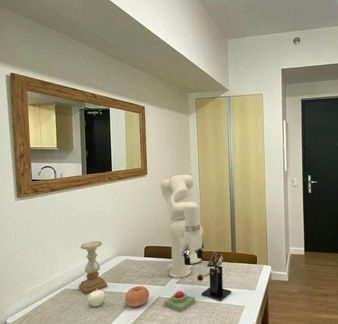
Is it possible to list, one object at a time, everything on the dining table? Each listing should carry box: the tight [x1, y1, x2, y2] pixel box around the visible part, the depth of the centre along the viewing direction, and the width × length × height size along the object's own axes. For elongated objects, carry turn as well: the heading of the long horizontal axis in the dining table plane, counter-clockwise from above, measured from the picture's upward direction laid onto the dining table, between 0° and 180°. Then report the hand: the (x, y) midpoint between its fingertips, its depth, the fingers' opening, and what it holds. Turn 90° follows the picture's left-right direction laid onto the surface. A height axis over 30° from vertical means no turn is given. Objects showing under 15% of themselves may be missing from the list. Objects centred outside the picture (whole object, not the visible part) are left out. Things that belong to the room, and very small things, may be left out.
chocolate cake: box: [207, 250, 224, 267], centre depth 180 cm, size 10×7×12 cm
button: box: [174, 290, 184, 298], centre depth 131 cm, size 4×4×2 cm
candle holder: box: [78, 240, 108, 295], centre depth 150 cm, size 11×11×24 cm
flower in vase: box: [189, 224, 204, 265], centre depth 183 cm, size 13×11×25 cm
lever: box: [197, 267, 220, 282], centre depth 143 cm, size 15×3×3 cm, turn 59°
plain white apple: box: [87, 288, 106, 307], centre depth 133 cm, size 7×7×8 cm
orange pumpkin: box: [124, 285, 150, 308], centre depth 132 cm, size 11×11×8 cm
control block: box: [163, 292, 196, 312], centre depth 132 cm, size 11×9×4 cm
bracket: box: [201, 265, 232, 302], centre depth 140 cm, size 12×9×14 cm
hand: (193, 261), depth 140 cm, fingers open, 9 cm apart
